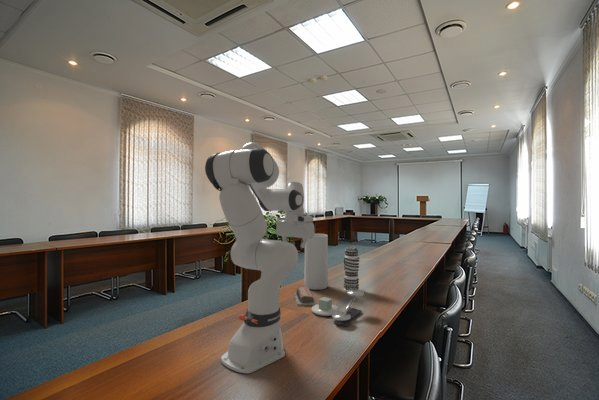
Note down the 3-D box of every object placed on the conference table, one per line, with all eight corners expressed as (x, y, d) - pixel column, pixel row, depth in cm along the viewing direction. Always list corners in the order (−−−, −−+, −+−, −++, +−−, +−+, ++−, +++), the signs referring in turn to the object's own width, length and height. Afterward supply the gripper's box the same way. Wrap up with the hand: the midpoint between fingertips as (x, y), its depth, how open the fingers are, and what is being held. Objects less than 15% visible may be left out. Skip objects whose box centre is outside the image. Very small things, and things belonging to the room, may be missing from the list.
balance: (345, 329, 118) (345, 305, 118) (328, 324, 123) (328, 300, 123) (366, 312, 136) (366, 291, 136) (350, 308, 141) (351, 287, 141)
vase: (321, 292, 165) (321, 237, 165) (299, 288, 173) (300, 235, 172) (331, 285, 177) (332, 234, 177) (311, 282, 185) (311, 233, 185)
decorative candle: (360, 292, 164) (361, 249, 164) (344, 292, 165) (344, 248, 164) (357, 287, 174) (358, 246, 173) (342, 287, 174) (342, 246, 174)
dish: (330, 319, 127) (330, 316, 127) (306, 312, 135) (306, 309, 135) (344, 310, 138) (344, 307, 138) (320, 304, 146) (320, 301, 146)
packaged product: (293, 286, 162) (310, 285, 163) (293, 294, 162) (310, 294, 163) (297, 297, 144) (316, 296, 145) (297, 306, 144) (316, 306, 145)
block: (327, 311, 133) (327, 301, 133) (318, 309, 136) (318, 299, 136) (331, 308, 137) (331, 298, 137) (323, 306, 140) (323, 296, 140)
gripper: (273, 216, 138) (273, 245, 138) (308, 218, 126) (308, 249, 126) (281, 215, 143) (281, 243, 143) (316, 217, 131) (316, 247, 131)
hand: (294, 246), depth 135 cm, fingers open, 8 cm apart
